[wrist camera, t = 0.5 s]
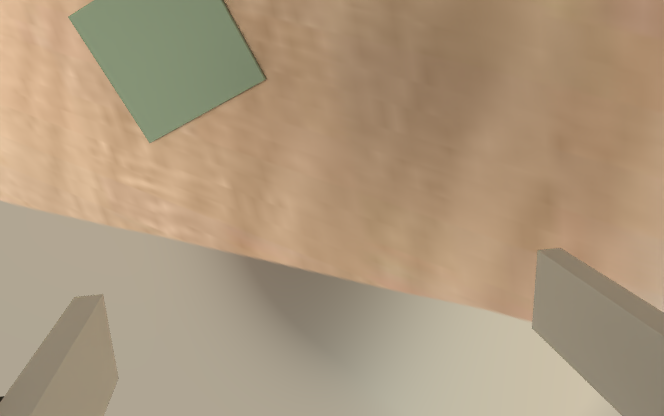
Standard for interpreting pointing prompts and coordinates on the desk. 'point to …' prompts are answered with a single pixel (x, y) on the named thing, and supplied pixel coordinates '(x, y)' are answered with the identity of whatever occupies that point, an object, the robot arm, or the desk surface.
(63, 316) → the robot arm
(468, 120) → the desk surface
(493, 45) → the desk surface
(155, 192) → the desk surface
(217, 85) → the sage green mat
